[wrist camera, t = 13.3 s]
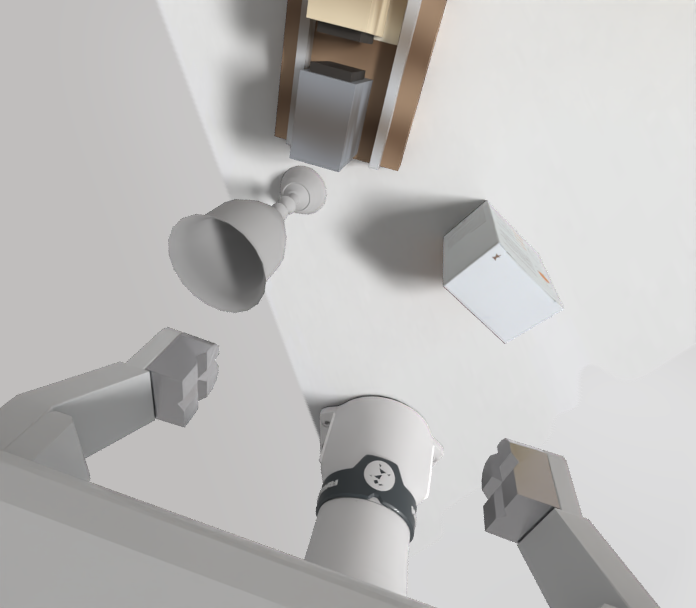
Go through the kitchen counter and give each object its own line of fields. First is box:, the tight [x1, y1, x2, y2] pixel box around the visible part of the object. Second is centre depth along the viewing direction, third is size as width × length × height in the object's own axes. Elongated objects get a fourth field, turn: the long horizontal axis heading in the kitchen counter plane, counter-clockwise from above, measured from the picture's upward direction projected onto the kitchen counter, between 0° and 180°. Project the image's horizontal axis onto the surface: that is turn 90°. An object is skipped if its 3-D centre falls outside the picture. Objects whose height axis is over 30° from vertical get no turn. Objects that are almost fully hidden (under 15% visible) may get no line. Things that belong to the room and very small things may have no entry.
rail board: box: [275, 0, 447, 172], centre depth 29 cm, size 18×12×9 cm, turn 168°
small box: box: [443, 200, 564, 344], centre depth 35 cm, size 8×6×10 cm
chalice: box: [168, 166, 327, 313], centre depth 33 cm, size 7×7×18 cm
